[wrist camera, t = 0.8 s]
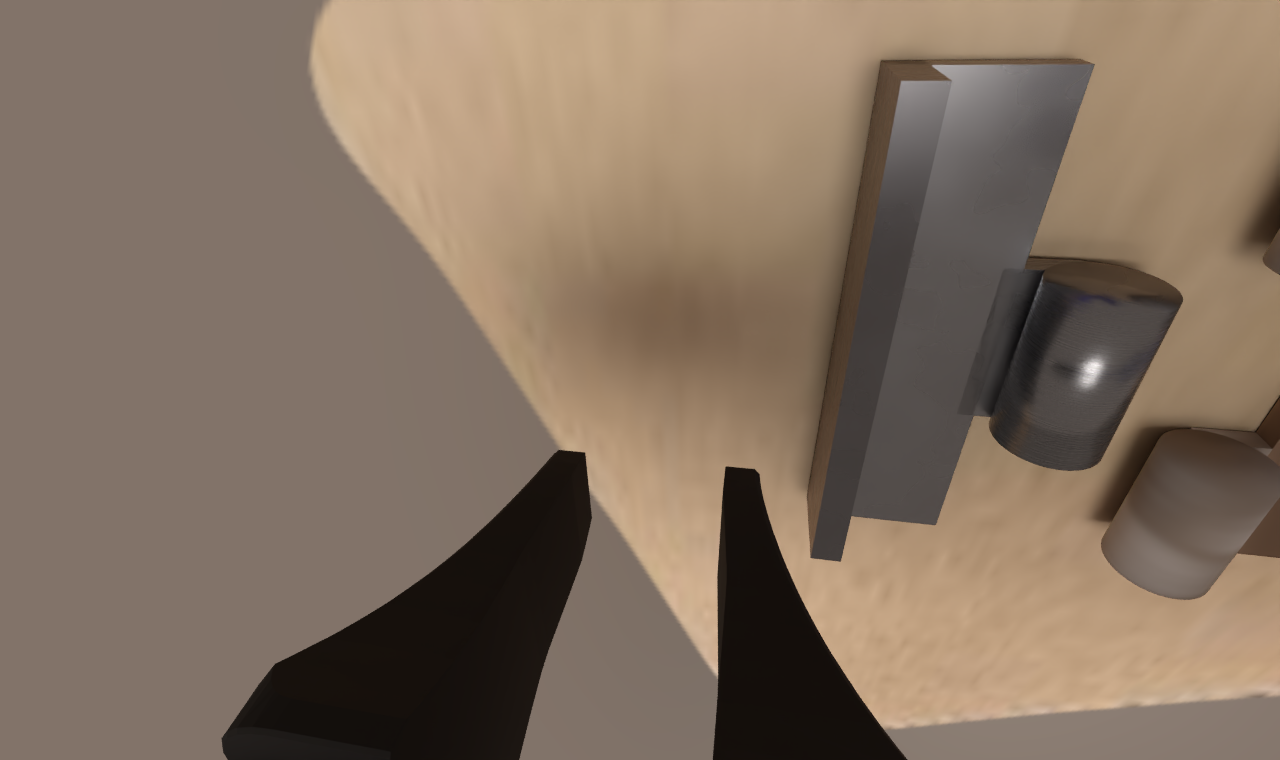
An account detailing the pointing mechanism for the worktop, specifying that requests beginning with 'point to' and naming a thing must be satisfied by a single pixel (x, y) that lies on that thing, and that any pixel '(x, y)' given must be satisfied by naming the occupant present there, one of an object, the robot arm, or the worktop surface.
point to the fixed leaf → (1200, 504)
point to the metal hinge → (969, 298)
